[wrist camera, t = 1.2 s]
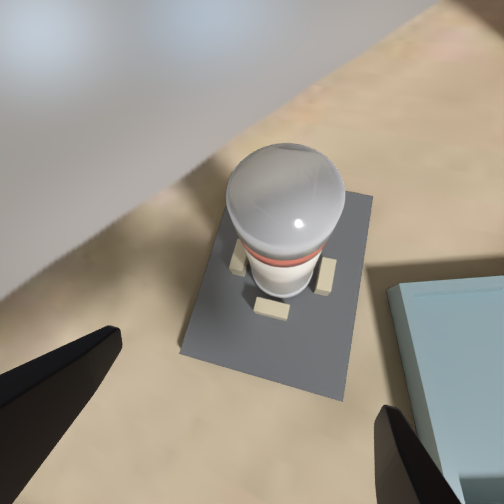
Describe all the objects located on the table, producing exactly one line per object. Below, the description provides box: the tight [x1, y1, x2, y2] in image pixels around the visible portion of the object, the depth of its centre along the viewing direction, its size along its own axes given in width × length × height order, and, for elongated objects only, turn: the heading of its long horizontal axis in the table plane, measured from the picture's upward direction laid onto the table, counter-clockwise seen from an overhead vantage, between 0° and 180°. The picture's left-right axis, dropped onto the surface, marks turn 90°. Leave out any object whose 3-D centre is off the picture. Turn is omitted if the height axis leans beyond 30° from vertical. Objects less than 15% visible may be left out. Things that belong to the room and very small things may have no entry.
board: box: [179, 191, 373, 402], centre depth 22 cm, size 16×12×3 cm
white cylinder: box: [226, 143, 345, 299], centre depth 17 cm, size 5×5×12 cm
